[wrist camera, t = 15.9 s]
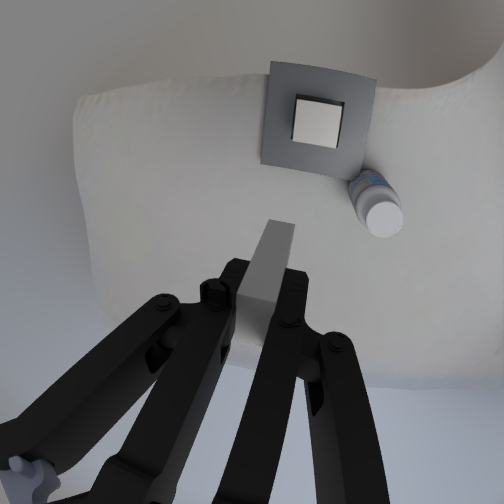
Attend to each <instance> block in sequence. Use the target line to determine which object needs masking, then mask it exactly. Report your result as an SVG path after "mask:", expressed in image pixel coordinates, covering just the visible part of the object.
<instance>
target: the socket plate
mask: <svg viewBox="0 0 504 504" xmlns="http://www.w3.org/2000/svg"><path fill="white" fill-rule="evenodd" d="M375 88H376V80H375V79H372V78H368V77H364V76H360V75H356V74H352V73H347V72H342V71H337V70H332V69H327V68H321V67H315V66H309V65H301V64H293V63H284V62H275V61H271V65H270V75H269V84H268V94H267V104H266V113H265V123H264V133H263V143H262V152H261V162H260V164H265V165H271V166H277V167H283V168H289V169H295V170H300V171H306V172H311V173H316V174H321V175H326V176H331V177H335V178H340V179H344V180H349V181H353V182H354V181H355V179H357V178H358V177H359V176H360V171H361V167H362V162H363V157H364V152H365V147H366V142H367V137H368V132H369V126H370V120H371V114H372V108H373V102H374V95H375ZM297 99H299V100H307V101H314V102H320V103H326V104H331V105H337V106H341V107H342V111H341V118H340V125H339V132H338V139H337V145H336V149H335V148H330V147H325V146H319V145H314V144H308V143H302V142H295V141H293V134H294V125H295V116H296V107H297Z"/></svg>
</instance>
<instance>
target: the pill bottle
mask: <svg viewBox="0 0 504 504" xmlns="http://www.w3.org/2000/svg"><path fill="white" fill-rule="evenodd" d="M348 191H349V196H350V199H351V201H352V204H353V207H354V209H355V212H356V215H357V217H358V220H359V221H360V223H361V224H362V225H363V226H364V227H366V228H367V229H368V230H369V231H370V232H371V233H372V234H373V235H375V236H377V237H381V238H386V237H390V236H392V235H394V234H396V233H397V232H398V231H399V230H400V228H401V226H402V224H403V213H402V211H401V202H400V199H399V197H398V195H397V194H396V192H395V191H394V190H393V188H392V187H391V186H390V185H389V184H388V182H387V181H386V180H385V179H384V178H383V176H382V175H380V174H379V173H378V172H376V171H373V170H363V171H361V172H360V176H359V177H358V178H357V179H355V181H354V182H353V181H350V184H349V189H348Z"/></svg>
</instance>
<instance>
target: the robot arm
mask: <svg viewBox="0 0 504 504" xmlns="http://www.w3.org/2000/svg"><path fill="white" fill-rule="evenodd" d="M294 228H295V224H291V223H286V222H280V221H275V220H270V219H269V221H268V223H267V225H266V227H265V230H264V232H263V234H262V237H261V239H260V241H259V243H258V246H257V248H256V250H255V253H254V255H253V257H252V259H251V261H247V260H242V259H237V258H234V259H232V260H231V261H229V262H228V263H227V265H226V266H225V268H224V271H223V272H222V274H221V276H220V277H219V279H218V278H213V279H208V280H206V281H204V282H203V283H202V284H201V285H200V302H198V303H180V302H179V300H178V298H177V297H175V296H174V295H171V294H159V295H156V296H154V297H152V298H151V299H150V300H149V301H147V302H146V303H145V304H144V305H143V306H142V307H140V308H139V309H138V310H137V311H136V312H134V313H133V314H132V315H131V316H130V317H129V318H127V319H126V320H125V321H124V322H123V323H122V324H120V325H119V326H118V327H117V328H116V329H115V330H113V331H112V332H111V333H110V334H109V335H108V336H106V337H105V338H104V339H103V340H102V341H101V342H100V343H98V344H97V345H96V346H95V347H94V348H93V349H92V350H91V351H89V352H88V353H87V354H86V355H85V356H84V357H82V358H81V359H80V360H79V361H78V362H77V363H76V364H75V365H73V366H72V367H71V368H70V369H69V370H68V371H67V372H66V373H65V374H63V376H61V377H60V378H59V379H58V380H57V381H56V382H55V383H54V384H52V385H51V386H50V387H49V388H48V389H47V390H46V391H45V392H44V393H43V394H42V395H41V396H40V397H39V398H38V399H36V400H35V401H34V402H33V403H32V404H31V405H30V406H29V407H28V408H27V409H26V410H25V411H24V412H22V413H21V415H19V416H18V417H17V418H15V419H12V420H10V421H7V422H5V423H2V424H0V479H1V482H2V485H3V487H4V490H5V492H6V495H7V497H8V499H9V502H10V504H172V502H173V500H174V497H175V494H176V487H177V483H178V480H179V478H180V475H181V473H182V470H183V468H184V466H185V463H186V460H187V458H188V456H189V453H190V450H191V448H192V446H193V443H194V441H195V438H196V435H197V433H198V431H199V428H200V425H201V423H202V420H203V418H204V415H205V413H206V410H207V408H208V405H209V403H210V400H211V397H212V395H213V392H214V390H215V387H216V384H217V382H218V379H219V377H220V374H221V372H222V369H223V366H224V364H225V361H226V359H227V356H228V353H229V351H230V346H231V339H232V337H233V334H234V340H238V341H242V342H246V343H250V344H255V345H259V346H263V348H262V352H261V355H260V359H259V362H258V366H257V369H256V372H255V376H254V380H253V383H252V386H251V389H250V392H249V396H248V399H247V402H246V406H245V409H244V412H243V415H242V418H241V422H240V425H239V428H238V431H237V434H236V437H235V441H234V443H233V447H232V450H231V452H230V455H229V458H228V462H227V465H226V467H225V470H224V473H223V476H222V479H221V482H220V485H219V487H218V490H217V493H216V495H215V497H214V499H213V501H212V504H268V503H269V499H270V494H271V491H272V487H273V483H274V479H275V475H276V472H277V468H278V463H279V459H280V455H281V451H282V447H283V442H284V437H285V433H286V428H287V423H288V419H289V414H290V409H291V404H292V399H293V393H294V388H295V382H296V377H299V378H301V379H303V380H304V387H305V394H306V402H307V411H308V419H309V427H310V437H311V446H312V455H313V464H314V475H315V487H316V498H317V504H390V501H389V494H388V488H387V482H386V476H385V471H384V466H383V460H382V456H381V450H380V446H379V441H378V437H377V432H376V428H375V423H374V419H373V415H372V411H371V407H370V404H369V399H368V395H367V392H366V388H365V384H364V380H363V377H362V373H361V370H360V366H359V362H358V359H357V356H356V352H355V349H354V346H353V343H352V341H351V339H350V338H348V337H347V336H346V335H344V334H342V333H340V332H334V331H333V332H328V333H326V334H324V335H322V334H320V333H318V332H316V331H314V330H312V329H311V328H310V327H309V326H308V325H307V323H306V321H305V318H304V315H305V307H306V299H307V292H308V283H309V278H308V276H307V274H306V272H303V271H298V270H293V269H289V268H287V265H288V260H289V255H290V249H291V244H292V239H293V233H294ZM156 380H157V381H156ZM155 381H156V383H155V385H154V386H153V388H152V390H151V392H150V394H149V396H148V398H147V400H146V401H145V404H144V405H143V407H142V409H141V411H140V413H139V415H138V416H137V418H136V421H135V422H134V424H133V426H132V428H131V430H130V432H129V434H128V436H127V438H126V440H125V441H124V444H123V445H122V447H121V449H120V451H119V452H118V453H117V454H115V455H113V456H111V457H109V458H108V459H107V460H106V462H105V463H104V465H103V466H102V468H101V470H100V472H99V474H98V476H97V478H96V480H95V482H94V484H93V486H92V488H91V490H90V491H88V492H85V493H81V494H78V495H75V496H72V497H69V498H65V499H62V500H58V501H54V502H50V503H47V499H48V496H49V495H50V494H51V493H52V492H53V491H55V490H56V489H59V487H60V484H61V482H60V479H59V478H58V477H57V476H58V475H60V474H62V473H64V472H66V471H67V470H69V469H70V468H72V467H73V466H74V465H76V464H77V463H78V462H79V461H80V460H81V459H82V458H83V457H84V456H85V455H86V454H87V453H88V452H89V451H90V450H91V449H92V447H94V446H95V444H97V443H98V441H99V440H100V439H101V438H102V437H103V436H104V435H105V434H106V433H107V432H108V431H109V430H110V429H111V428H112V427H113V426H114V424H116V423H117V422H118V420H119V419H120V418H121V417H122V416H123V415H124V414H125V413H126V412H127V411H128V410H129V409H130V408H131V406H133V405H134V403H135V402H136V401H137V400H138V399H139V398H140V397H141V396H142V395H143V394H144V393H145V392H146V391H147V390H148V388H149V387H150V386H151V385H152V384H153V383H154V382H155Z"/></svg>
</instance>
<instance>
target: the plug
mask: <svg viewBox="0 0 504 504" xmlns="http://www.w3.org/2000/svg"><path fill="white" fill-rule="evenodd" d="M341 111H342V107H341V106H337V105H331V104H326V103H320V102H314V101H307V100H299V99H297V107H296V116H295V125H294V134H293V141H295V142H302V143H308V144H314V145H319V146H325V147H330V148H335V149H336V145H337V139H338V132H339V125H340V118H341Z"/></svg>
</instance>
